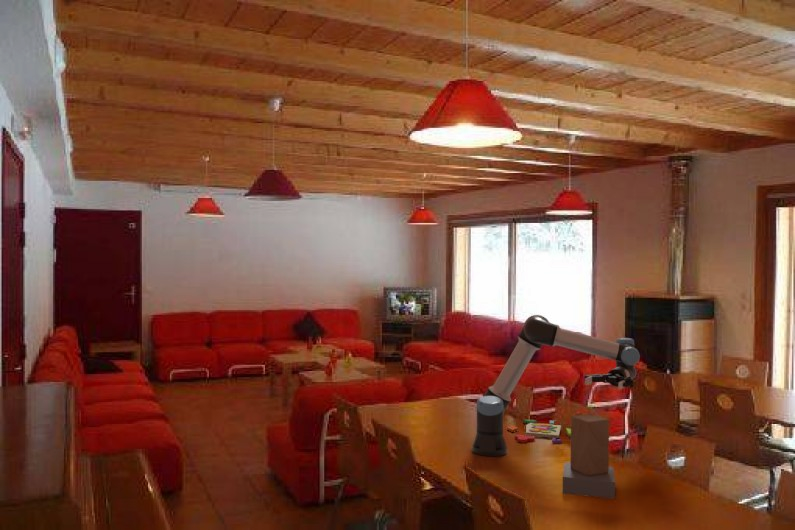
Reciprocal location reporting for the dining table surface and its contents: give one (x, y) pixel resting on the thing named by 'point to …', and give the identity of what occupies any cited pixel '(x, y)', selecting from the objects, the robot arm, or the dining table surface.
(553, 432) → the pattern blocks set
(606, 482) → the plinth
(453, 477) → the dining table surface
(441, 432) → the dining table surface
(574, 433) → the wooden block
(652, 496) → the dining table surface
